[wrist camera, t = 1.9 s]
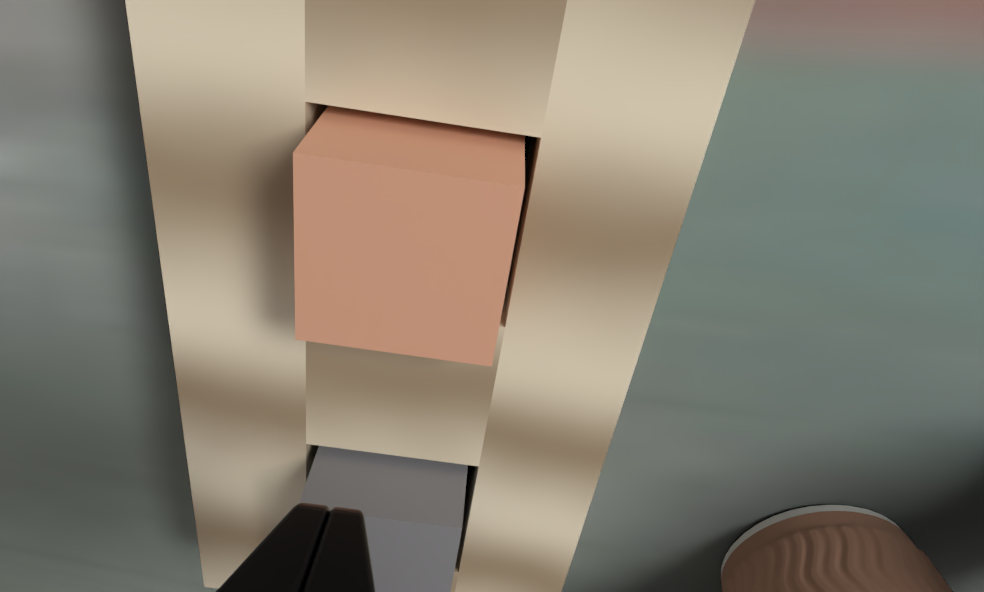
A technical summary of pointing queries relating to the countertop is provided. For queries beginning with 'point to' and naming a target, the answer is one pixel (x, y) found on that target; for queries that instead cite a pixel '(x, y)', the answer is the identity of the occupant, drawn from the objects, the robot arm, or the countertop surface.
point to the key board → (534, 266)
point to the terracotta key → (404, 234)
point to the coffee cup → (828, 555)
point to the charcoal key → (397, 512)
